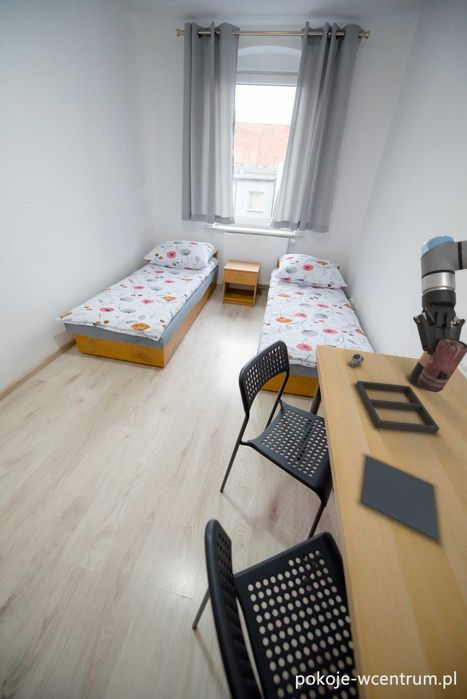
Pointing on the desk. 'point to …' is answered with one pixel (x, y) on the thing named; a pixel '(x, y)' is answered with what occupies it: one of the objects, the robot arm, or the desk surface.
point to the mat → (400, 497)
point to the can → (442, 363)
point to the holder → (414, 406)
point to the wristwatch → (356, 360)
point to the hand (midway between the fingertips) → (440, 379)
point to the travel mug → (419, 369)
